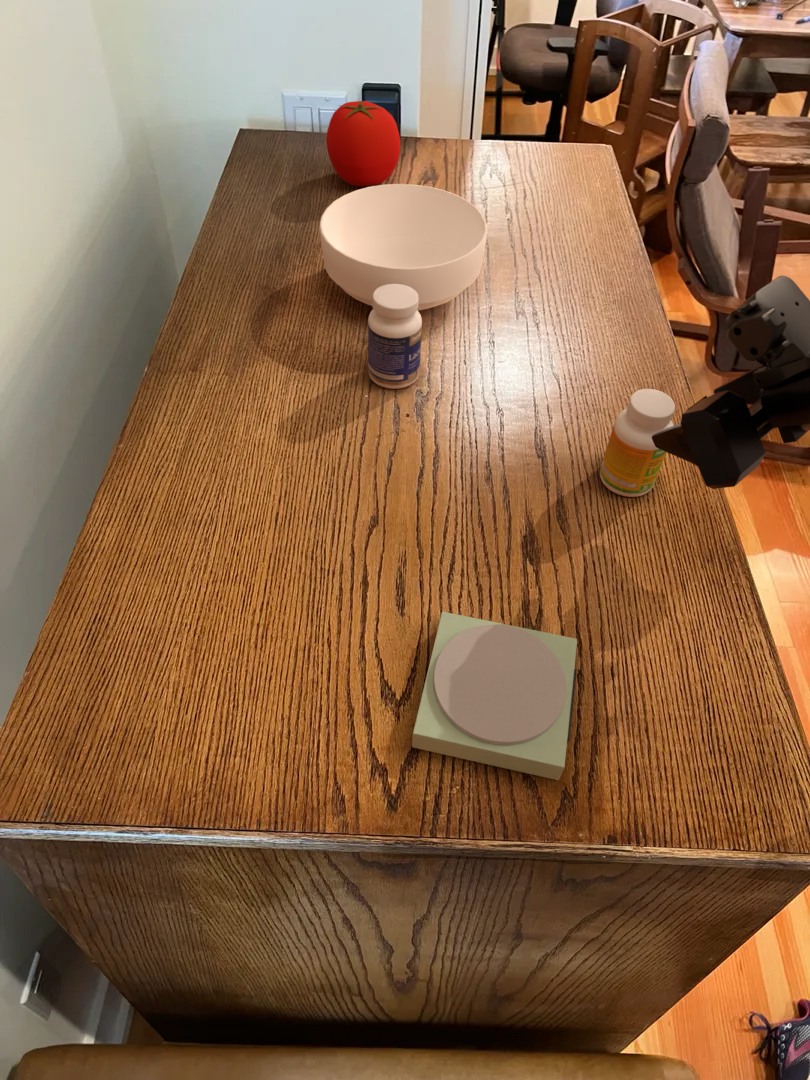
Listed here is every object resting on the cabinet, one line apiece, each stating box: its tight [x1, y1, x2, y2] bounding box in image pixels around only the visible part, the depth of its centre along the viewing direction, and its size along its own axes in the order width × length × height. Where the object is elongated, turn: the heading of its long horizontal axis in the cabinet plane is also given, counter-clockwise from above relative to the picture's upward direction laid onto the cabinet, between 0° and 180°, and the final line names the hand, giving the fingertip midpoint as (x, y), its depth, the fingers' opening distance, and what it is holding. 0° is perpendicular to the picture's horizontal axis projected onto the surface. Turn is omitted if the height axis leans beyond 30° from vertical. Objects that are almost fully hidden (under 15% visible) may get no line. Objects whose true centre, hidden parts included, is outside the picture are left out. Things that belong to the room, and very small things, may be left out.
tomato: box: [325, 100, 401, 187], centre depth 110 cm, size 10×11×11 cm
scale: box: [411, 611, 578, 781], centre depth 59 cm, size 11×11×3 cm
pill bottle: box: [367, 284, 423, 390], centre depth 82 cm, size 6×6×10 cm
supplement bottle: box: [599, 388, 676, 498], centre depth 72 cm, size 5×5×10 cm
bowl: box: [319, 183, 488, 312], centre depth 93 cm, size 20×20×8 cm
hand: (686, 417), depth 67 cm, fingers open, 9 cm apart
